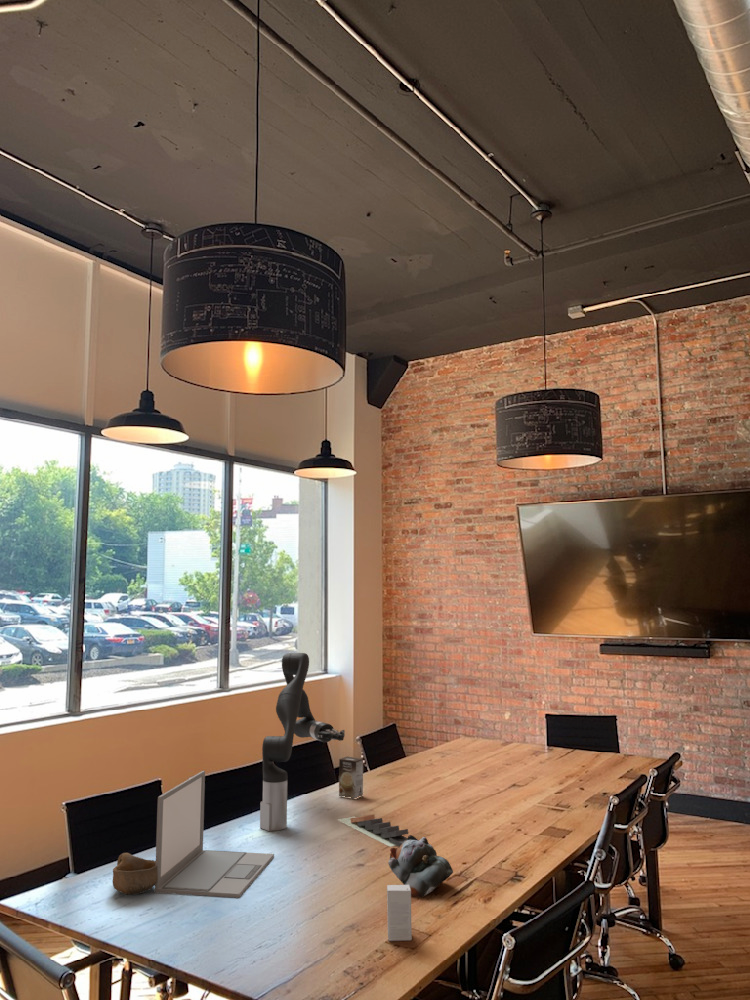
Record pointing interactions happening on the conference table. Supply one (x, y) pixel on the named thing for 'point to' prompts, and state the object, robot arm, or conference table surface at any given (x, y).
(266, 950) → the conference table surface
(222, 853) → the laptop
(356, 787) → the coffee box
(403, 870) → the lucky cat figurine
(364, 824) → the domino
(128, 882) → the bowl
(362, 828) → the strip
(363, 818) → the domino
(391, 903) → the skincare box
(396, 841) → the domino
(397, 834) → the domino
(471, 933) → the conference table surface
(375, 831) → the domino
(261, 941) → the conference table surface
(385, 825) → the domino
